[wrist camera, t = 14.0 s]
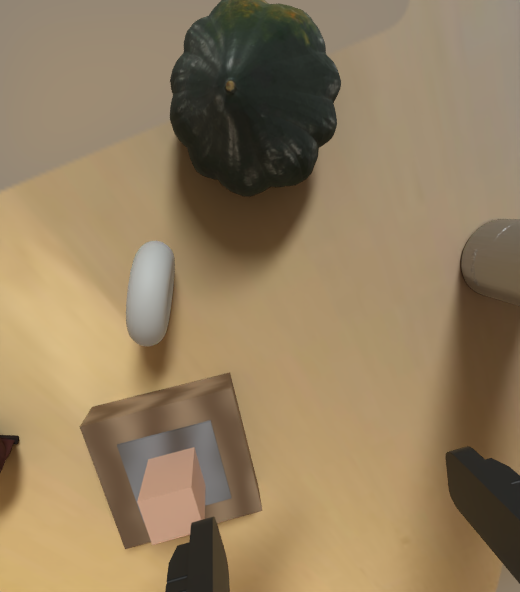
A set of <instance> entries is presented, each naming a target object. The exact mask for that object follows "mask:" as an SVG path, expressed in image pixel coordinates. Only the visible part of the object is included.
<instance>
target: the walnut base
mask: <svg viewBox="0 0 520 592" xmlns="http://www.w3.org/2000/svg"><path fill="white" fill-rule="evenodd" d="M80 429H81V431H82V434H83V437H84V439H85V442H86V445H87V448H88V450H89V453H90V456H91V458H92V461H93V464H94V466H95V469H96V472H97V474H98V477H99V480H100V483H101V485H102V488H103V491H104V493H105V496H106V499H107V501H108V504H109V507H110V509H111V512H112V515H113V518H114V520H115V523H116V526H117V528H118V531H119V534H120V536H121V539H122V542H123V544H124V547H125V549H127V548H131V547H135V546H138V545H142V544H145V543H149V542H151V540H150V537H149V534H148V531H147V528H146V526H145V523H144V520H143V517H142V514H141V511H140V508H139V506H138V503H137V501H138V497H139V493H140V489H141V485H142V482H143V478H144V474H145V470H146V466H147V462H148V459H151V458H155V457H159V456H163V455H167V454H170V453H174V452H178V451H182V450H185V449H189V448H193V447H194V448H195V451H196V454H197V458H198V461H199V465H200V468H201V472H202V475H203V478H204V482H205V485H206V487H205V519H206V518H210V517H213V516H214V517H215V519H216V522H217V523H220V522H224V521H227V520H231V519H234V518H238V517H241V516H245V515H249V514H252V513H256V512H259V511H262V506H261V500H260V494H259V488H258V483H257V479H256V475H255V471H254V467H253V463H252V459H251V455H250V451H249V447H248V443H247V439H246V435H245V431H244V427H243V423H242V419H241V415H240V411H239V407H238V403H237V399H236V395H235V391H234V387H233V383H232V379H231V375H230V373H227V374H223V375H219V376H215V377H211V378H207V379H203V380H199V381H195V382H191V383H187V384H183V385H179V386H175V387H171V388H167V389H163V390H159V391H155V392H151V393H147V394H143V395H139V396H135V397H131V398H127V399H123V400H119V401H115V402H111V403H107V404H103V405H99V406H95V407H92V408H91V410H90V411H89V413H88V414H87V416H86V418H85V419H84V421H83V423H82V424H81V426H80Z"/></svg>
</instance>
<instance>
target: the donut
mask: <svg viewBox="0 0 520 592" xmlns="http://www.w3.org/2000/svg"><path fill="white" fill-rule="evenodd" d="M174 272H175V260H174V254H173V252H172V250H171V249H170V248H169V246H167V245H166V244H164V243H163V242H159V241H150V242H147V243H145V244H144V245H142V246H141V247H140V249H139V250H138V252H137V253H136V255H135V258H134V261H133V264H132V268H131V272H130V278H129V284H128V293H127V304H126V324H127V329H128V333H129V335H130V337H131V338H132V339H133V340H134V341H135V342H136V343H138V344H139V345H142V346H153V345H156V344H158V343H159V342H160V341H161V340H162V339H163V337H164V336H165V334H166V331H167V327H168V323H169V317H170V311H171V304H172V295H173V286H174Z"/></svg>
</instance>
